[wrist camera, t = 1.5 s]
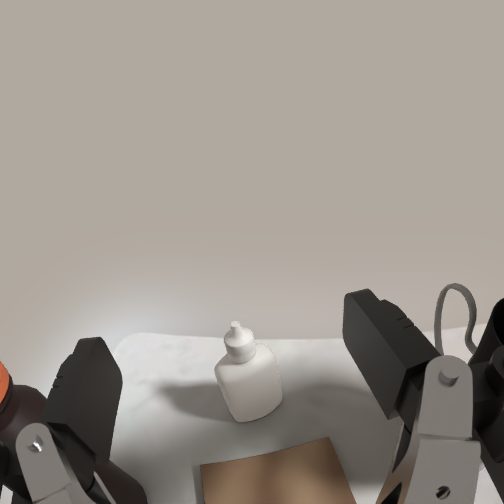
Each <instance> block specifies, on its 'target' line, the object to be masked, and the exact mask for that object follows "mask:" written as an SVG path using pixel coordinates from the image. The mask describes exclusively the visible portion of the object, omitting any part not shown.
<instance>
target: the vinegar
mask: <svg viewBox="0 0 504 504" xmlns="http://www.w3.org/2000/svg"><path fill="white" fill-rule="evenodd" d="M46 401H47V399H46V397H44V396H43V395H42V394H41V393H40V392H39V391H38V390H37V389H35V388H32V387H29V386H26V385H13V381H12V377H11V376H10V375H9V373H8V371H7V369H6V368H5V367H4V365H3V364H2V363H1V361H0V441H1V442H7V441H13V440H16V439H17V437H18V435H19V433H20V432H21V430H22V429H23V428H25V427H26V426H27V425H30V424H32V423H38V422H39V420H40V417H41V414H42V411H43V409H44V406H45V403H46ZM94 471H95V472H96V473H97V474H98V476H99V478H100V479H101V481H102V482H103V484H104V486H105V487H106V489H107V490H108V492H109V493H110V495H111V497H112V498H113V500H114V501H115V502H116V504H147V498H146V495H145V493H144V490H143V488H142V487H141V486H140V485H139V483H138V482H137V481H136V480H135V479H133V478H132V477H130V476H129V475H128V474H126V473H125V472H124V471H123V470H121V469H120V468H119V467H117V466H116V465H115V464H114V463H113V462H111V461H110V460H109V464H108V465H101V464H95V470H94Z"/></svg>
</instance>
